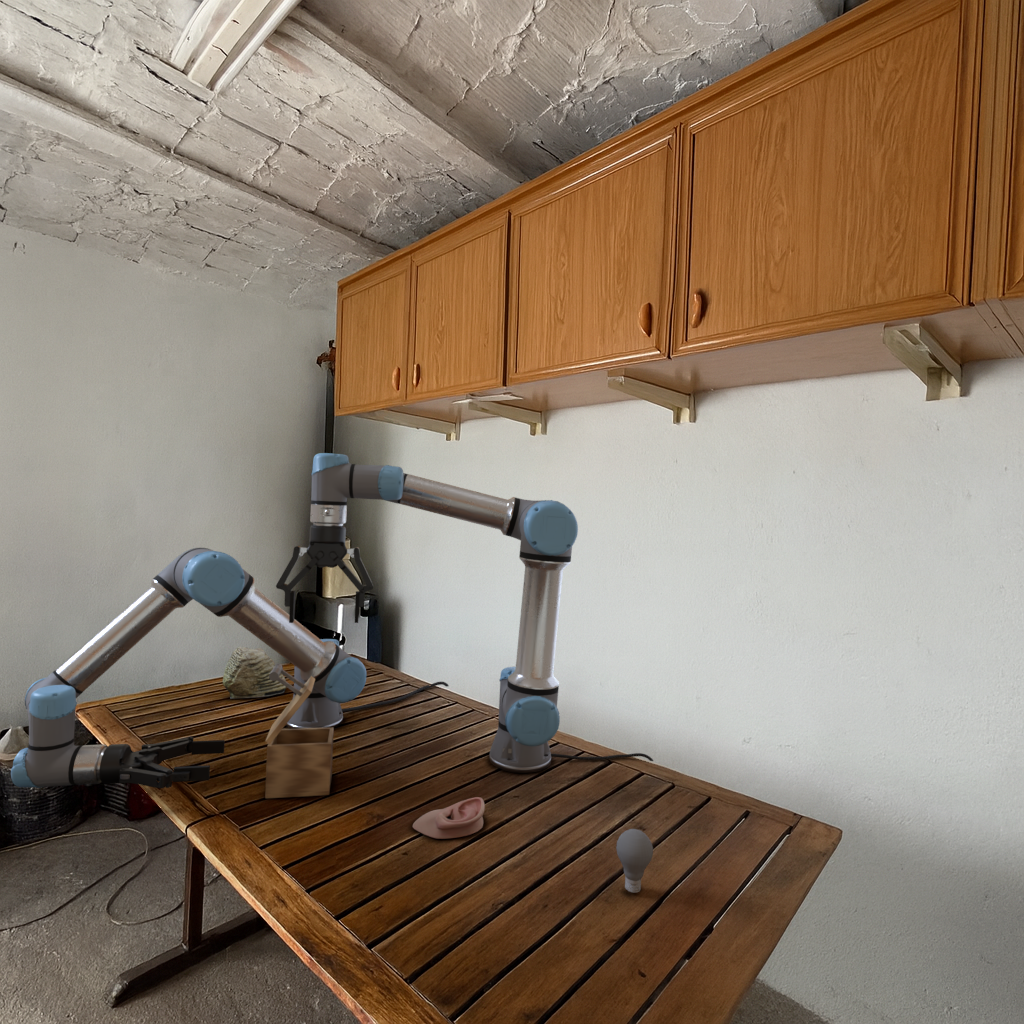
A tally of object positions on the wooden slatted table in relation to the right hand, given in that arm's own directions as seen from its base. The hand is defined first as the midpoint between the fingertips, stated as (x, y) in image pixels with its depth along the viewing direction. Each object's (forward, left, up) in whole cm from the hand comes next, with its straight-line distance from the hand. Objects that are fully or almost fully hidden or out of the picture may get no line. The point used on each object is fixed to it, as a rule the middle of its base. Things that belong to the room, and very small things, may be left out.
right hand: (324, 621), depth 138 cm
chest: (+4, -1, -36) cm, 36 cm away
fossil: (+14, -69, -36) cm, 79 cm away
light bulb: (-46, +54, -36) cm, 80 cm away
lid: (+6, -1, -19) cm, 20 cm away
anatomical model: (-23, +24, -36) cm, 49 cm away
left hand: (+20, -3, -29) cm, 36 cm away
